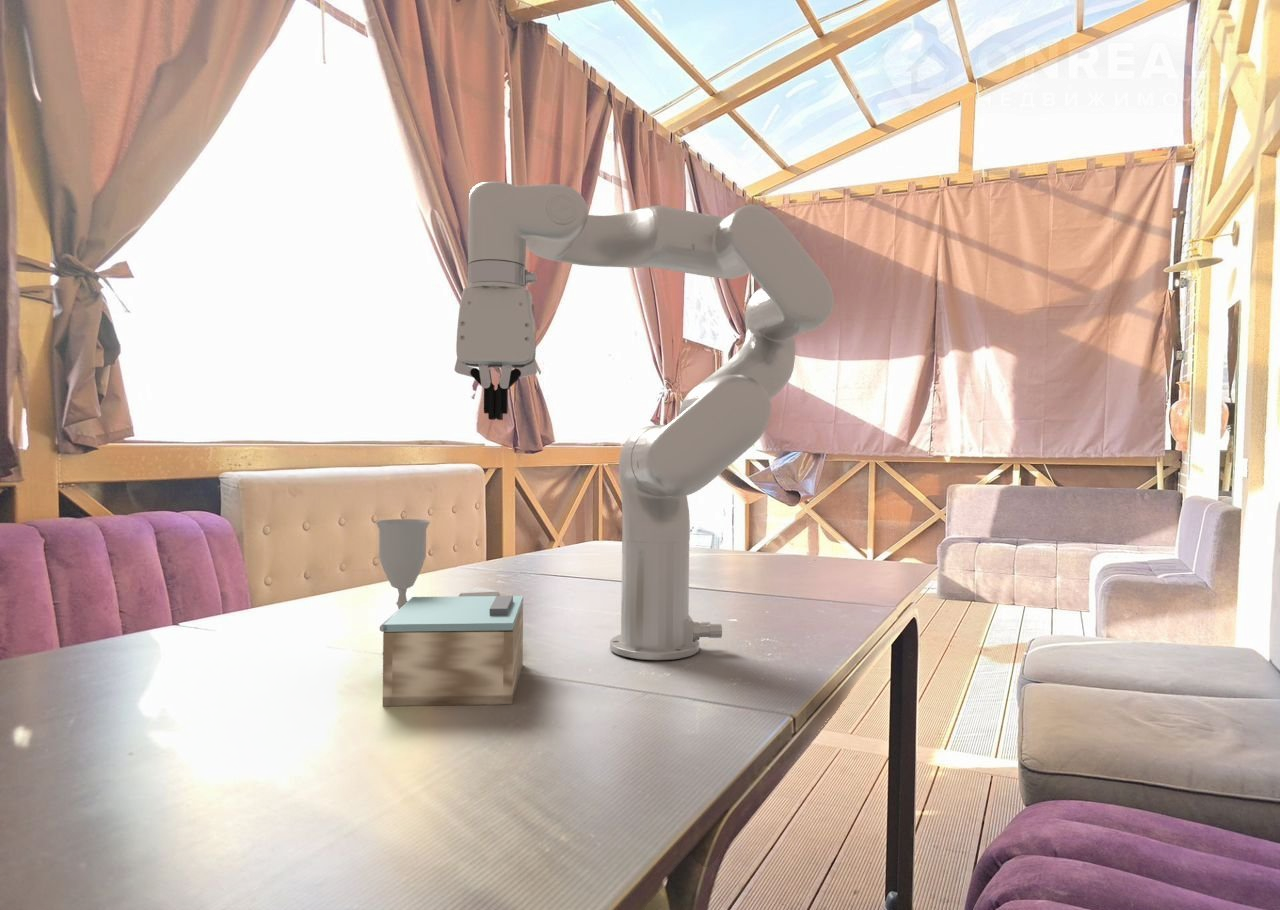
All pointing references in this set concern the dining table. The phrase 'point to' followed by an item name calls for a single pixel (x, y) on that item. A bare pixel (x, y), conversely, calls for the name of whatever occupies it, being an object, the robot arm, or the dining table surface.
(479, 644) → the chest
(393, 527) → the chalice
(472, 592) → the die
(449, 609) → the lid
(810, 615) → the dining table surface
